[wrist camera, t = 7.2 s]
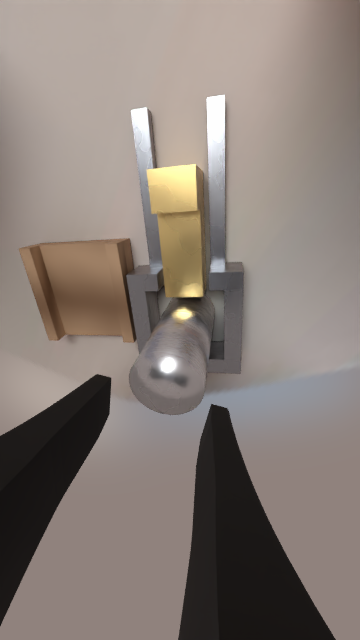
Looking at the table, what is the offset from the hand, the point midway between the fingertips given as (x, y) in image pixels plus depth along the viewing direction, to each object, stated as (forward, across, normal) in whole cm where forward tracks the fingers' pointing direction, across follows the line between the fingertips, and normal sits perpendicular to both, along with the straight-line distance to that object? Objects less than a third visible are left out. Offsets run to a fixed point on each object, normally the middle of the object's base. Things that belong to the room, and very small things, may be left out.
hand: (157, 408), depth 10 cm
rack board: (+10, +8, 0) cm, 13 cm away
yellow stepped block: (+10, +1, -5) cm, 11 cm away
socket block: (+10, +1, -4) cm, 11 cm away
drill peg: (+10, 0, 0) cm, 10 cm away
